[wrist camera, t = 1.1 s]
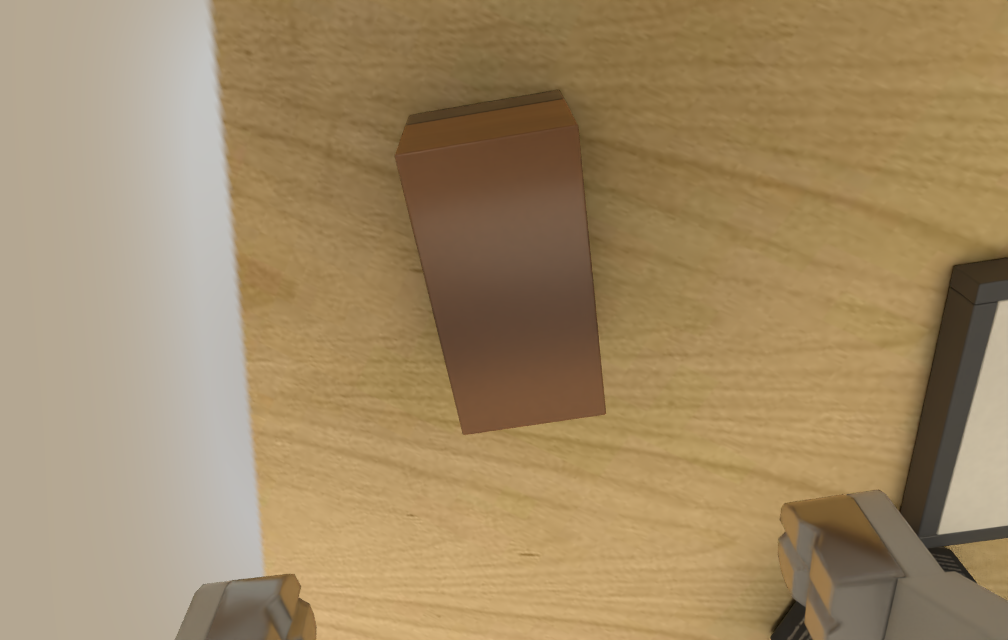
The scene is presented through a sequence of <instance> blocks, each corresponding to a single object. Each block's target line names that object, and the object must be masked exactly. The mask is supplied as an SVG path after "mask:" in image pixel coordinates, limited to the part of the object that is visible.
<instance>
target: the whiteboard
mask: <svg viewBox="0 0 1008 640" xmlns="http://www.w3.org/2000/svg"><path fill="white" fill-rule="evenodd" d="M950 286H951V287H950V288H949V293H948V297H947V302H946V306H945V311H944V316H943V320H942V325H941V329H940V334H939V338H938V343H937V348H936V352H935V357H934V361H933V366H932V370H931V375H930V380H929V384H928V389H927V393H926V398H925V402H924V407H923V411H922V416H921V421H920V425H919V430H918V434H917V439H916V443H915V448H914V453H913V457H912V462H911V466H910V471H909V475H908V480H907V484H906V489H905V494H904V498H903V503H902V507H901V515H902V516H903V517H904V519H905V520H906V521H907V523H908V524H909V525H910V527H911V528H912V529H913V531H914V532H915V533H916V535H917V536H918V537H919V539H920V540H921V541H922V543H923V544H924V545H925V547H926V548H934V547H942V546H949V545H957V544H965V543H972V542H980V541H987V540H995V539H1002V538H1008V258H1004V259H997V260H991V261H984V262H977V263H971V264H964V265H958V266H954V268H953V273H952V278H951V282H950Z"/></svg>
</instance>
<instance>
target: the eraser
mask: <svg viewBox="0 0 1008 640" xmlns="http://www.w3.org/2000/svg"><path fill="white" fill-rule="evenodd" d="M395 159H396V163H397V167H398V172H399V176H400V180H401V184H402V188H403V192H404V196H405V200H406V204H407V208H408V212H409V216H410V221H411V225H412V229H413V233H414V237H415V241H416V245H417V249H418V253H419V257H420V261H421V265H422V270H423V274H424V278H425V282H426V286H427V290H428V294H429V298H430V302H431V306H432V310H433V314H434V319H435V323H436V327H437V331H438V335H439V339H440V343H441V347H442V351H443V355H444V359H445V363H446V368H447V372H448V376H449V380H450V384H451V388H452V392H453V396H454V400H455V404H456V408H457V412H458V416H459V421H460V425H461V429H462V433H463V435H467V434H474V433H481V432H488V431H495V430H502V429H508V428H515V427H522V426H529V425H536V424H543V423H550V422H557V421H564V420H571V419H577V418H584V417H591V416H598V415H605V414H606V408H605V397H604V387H603V377H602V366H601V356H600V346H599V335H598V325H597V315H596V304H595V294H594V284H593V273H592V263H591V253H590V242H589V232H588V222H587V211H586V201H585V191H584V180H583V170H582V160H581V149H580V139H579V129H578V125H577V123H576V121H575V119H574V117H573V115H572V113H571V111H570V109H569V107H568V105H567V103H566V101H565V99H564V98H563V96H562V94H561V92H560V90H555V91H549V92H543V93H537V94H531V95H525V96H519V97H514V98H508V99H502V100H496V101H490V102H484V103H478V104H472V105H466V106H460V107H454V108H448V109H442V110H437V111H431V112H425V113H419V114H413V115H410V116H409V118H408V120H407V123H406V126H405V128H404V131H403V134H402V137H401V139H400V142H399V145H398V148H397V151H396V153H395Z"/></svg>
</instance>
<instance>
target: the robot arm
mask: <svg viewBox="0 0 1008 640" xmlns="http://www.w3.org/2000/svg"><path fill="white" fill-rule="evenodd" d="M780 521H781V523H782V525H783V527H784V529H785V532H784V534H783V535H782V536H781V537H780V538H779V539H778V557H779V562H780V568H781V572H782V575H783V578H784V581H785V583H786V586H787V588H788V590H789V592H790V594H791V596H792V598H793V599H795V600H796V601H798V602H799V603H800V604H802V605H803V606H805V607H806V612H805V621H804V623H805V625H806V627H807V629H808V631H809V633H810V635H811V637H812V640H1008V601H1007V600H1005V599H1003V598H1002V597H1000V596H998V595H996V594H994V593H993V592H991V591H989V590H987V589H986V588H984V587H982V586H980V585H978V584H977V583H975V582H973V581H971V580H970V579H968V578H966V577H964V576H962V575H961V574H959V573H957V572H955V571H952V572H944V570H943V569H942V568H941V567H940V565H939V564H938V563H937V561H936V560H935V559H934V557H933V556H932V555H931V553H930V552H929V551H928V549H927V548H926V547H925V545H924V544H923V543H922V541H921V540H920V539H919V537H918V536H917V535H916V533H915V532H914V531H913V529H912V528H911V527H910V525H909V524H908V523H907V521H906V520H905V519H904V517H903V516H902V515H901V513H900V512H899V511H898V510H897V508H896V507H895V506H894V504H893V503H892V502H891V500H890V499H889V498H888V496H887V495H886V494H885V493H883V492H882V491H880V490H873V491H866V492H859V493H852V494H847V495H844V494H841V495H835V496H828V497H822V498H815V499H809V500H802V501H796V502H789V503H784V505H783V506H782V508H781V514H780ZM300 589H301V585H300V583H299V582H298V580H297V578H296V576H295V574H283V575H275V576H266V577H257V578H248V579H239V580H232V581H224V582H216V583H208V584H203V585H202V586H201V587H200V588H199V589H198V590H197V591H196V593H195V594H194V596H193V599H192V601H191V603H190V606H189V608H188V610H187V613H186V615H185V617H184V620H183V622H182V624H181V627H180V629H179V632H178V634H177V636H176V638H175V640H316V622H315V617H314V613H313V611H312V609H311V606H310V604H309V603H307V602H305V601H304V600H302V599H300V598H298V597H299V593H300Z"/></svg>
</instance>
